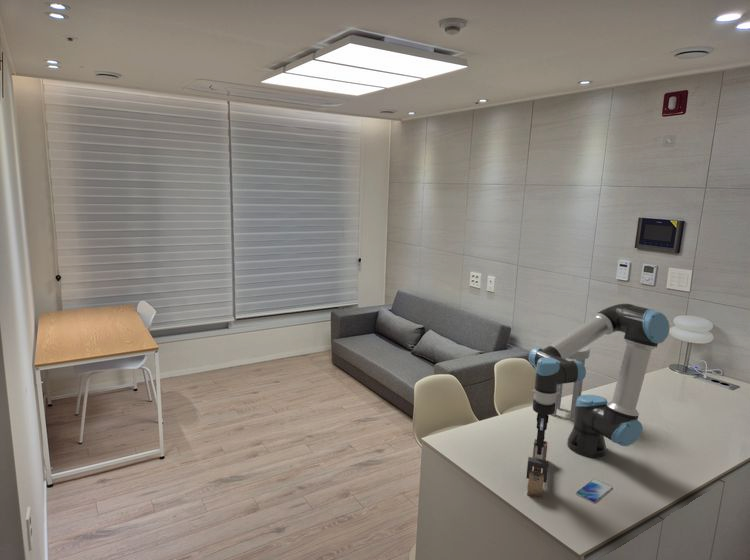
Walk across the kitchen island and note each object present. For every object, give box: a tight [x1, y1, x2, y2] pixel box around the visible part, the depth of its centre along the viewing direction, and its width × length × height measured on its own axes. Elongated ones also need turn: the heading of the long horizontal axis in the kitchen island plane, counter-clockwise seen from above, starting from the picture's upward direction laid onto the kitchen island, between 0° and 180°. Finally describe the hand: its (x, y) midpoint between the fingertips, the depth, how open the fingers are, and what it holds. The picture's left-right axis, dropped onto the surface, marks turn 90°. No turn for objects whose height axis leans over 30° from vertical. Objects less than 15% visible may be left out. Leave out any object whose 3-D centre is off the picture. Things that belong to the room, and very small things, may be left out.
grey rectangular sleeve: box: [526, 456, 549, 484], centre depth 174 cm, size 7×3×7 cm, turn 68°
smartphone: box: [575, 478, 613, 505], centre depth 175 cm, size 7×1×15 cm
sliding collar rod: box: [526, 438, 549, 499], centre depth 182 cm, size 5×28×8 cm, turn 158°
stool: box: [550, 345, 591, 422], centre depth 233 cm, size 16×16×35 cm
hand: (538, 460), depth 176 cm, fingers closed
